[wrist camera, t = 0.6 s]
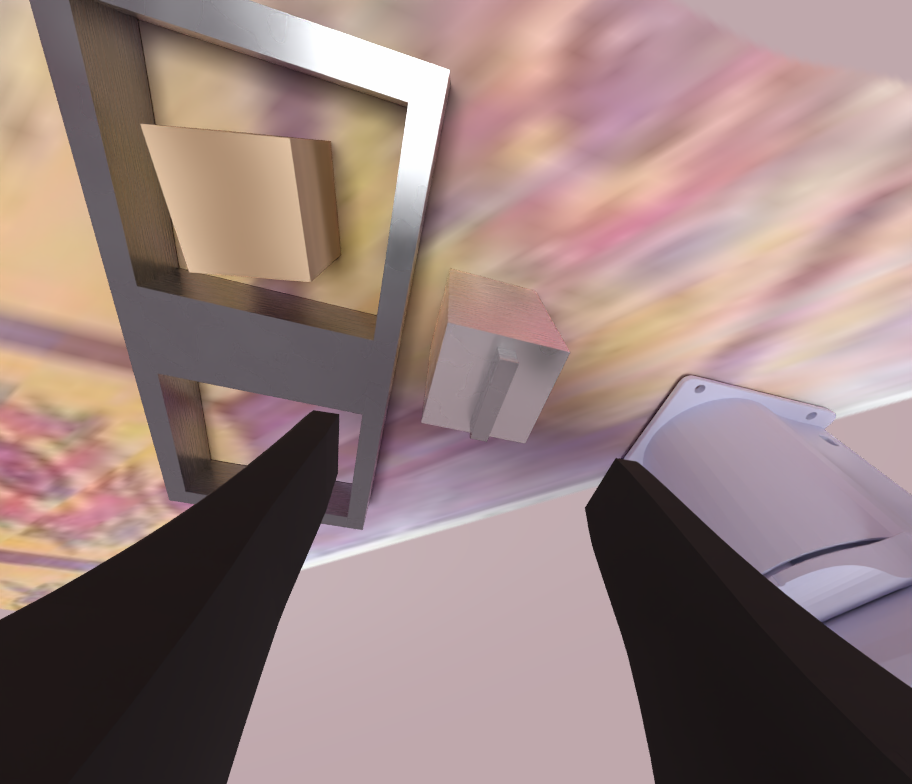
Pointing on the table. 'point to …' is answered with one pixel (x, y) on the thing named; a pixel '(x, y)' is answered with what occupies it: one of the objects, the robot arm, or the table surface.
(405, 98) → the grey slotted frame
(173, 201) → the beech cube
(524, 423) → the grey block with tab
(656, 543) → the robot arm
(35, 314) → the table surface
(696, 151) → the table surface
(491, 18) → the table surface
